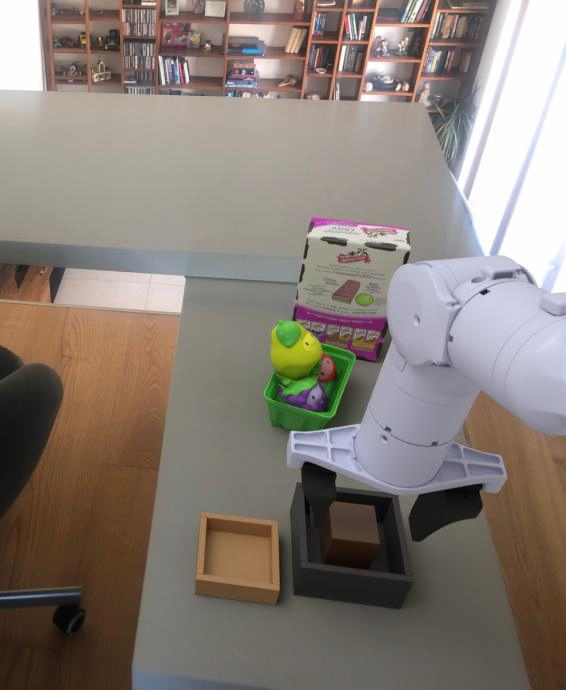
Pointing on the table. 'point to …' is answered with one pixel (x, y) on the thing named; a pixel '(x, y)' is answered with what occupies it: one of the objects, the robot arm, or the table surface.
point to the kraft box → (238, 558)
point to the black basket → (349, 583)
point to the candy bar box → (349, 283)
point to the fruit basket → (304, 378)
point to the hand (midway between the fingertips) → (364, 523)
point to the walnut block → (349, 536)
